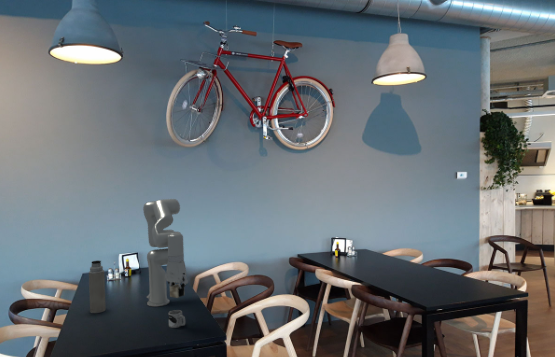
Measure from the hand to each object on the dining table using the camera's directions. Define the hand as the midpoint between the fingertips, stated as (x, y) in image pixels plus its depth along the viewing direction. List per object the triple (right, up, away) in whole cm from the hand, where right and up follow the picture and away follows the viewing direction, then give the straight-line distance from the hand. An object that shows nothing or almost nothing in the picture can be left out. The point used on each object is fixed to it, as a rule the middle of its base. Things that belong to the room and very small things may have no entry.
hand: (177, 294), depth 212 cm
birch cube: (0, -1, 0) cm, 1 cm away
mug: (0, -16, +1) cm, 16 cm away
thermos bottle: (-51, -16, +27) cm, 60 cm away
